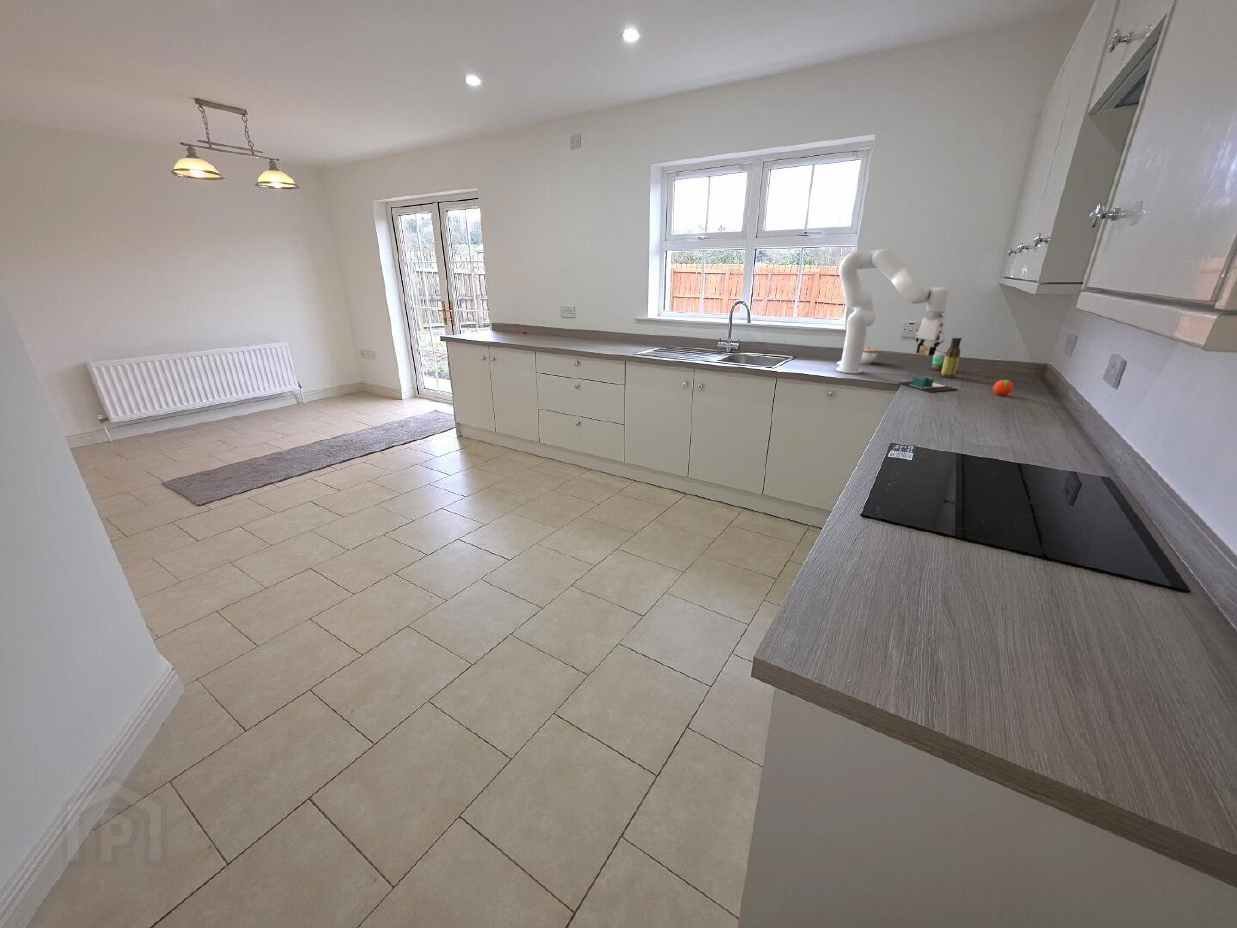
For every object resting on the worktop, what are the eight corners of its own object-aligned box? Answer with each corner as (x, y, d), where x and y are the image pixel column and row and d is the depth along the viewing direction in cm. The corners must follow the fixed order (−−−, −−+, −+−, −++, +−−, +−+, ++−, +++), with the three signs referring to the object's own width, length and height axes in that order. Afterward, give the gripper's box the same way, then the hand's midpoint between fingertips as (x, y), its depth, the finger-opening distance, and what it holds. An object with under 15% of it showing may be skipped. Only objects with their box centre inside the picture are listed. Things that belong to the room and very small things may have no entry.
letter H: (911, 385, 231) (913, 376, 229) (920, 384, 232) (923, 376, 231) (922, 388, 225) (924, 379, 224) (931, 387, 227) (934, 378, 225)
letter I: (918, 354, 236) (920, 345, 234) (920, 353, 236) (922, 345, 235) (928, 356, 231) (930, 347, 229) (931, 355, 231) (933, 347, 230)
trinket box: (867, 365, 275) (871, 348, 271) (851, 361, 283) (854, 345, 280) (879, 363, 279) (883, 347, 276) (863, 360, 288) (866, 344, 284)
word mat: (898, 383, 236) (899, 382, 236) (923, 381, 240) (924, 380, 240) (931, 392, 220) (931, 391, 220) (957, 390, 225) (957, 388, 225)
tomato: (1011, 398, 212) (1016, 382, 209) (992, 396, 215) (997, 380, 212) (1009, 394, 218) (1014, 379, 215) (990, 392, 221) (995, 377, 218)
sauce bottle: (950, 375, 252) (961, 336, 244) (957, 378, 246) (968, 338, 239) (937, 375, 253) (947, 336, 245) (943, 377, 247) (954, 338, 239)
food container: (923, 368, 267) (928, 350, 264) (930, 367, 270) (935, 349, 266) (945, 373, 257) (950, 354, 253) (952, 372, 260) (958, 353, 256)
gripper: (957, 316, 220) (947, 356, 227) (924, 313, 235) (915, 350, 242) (945, 317, 218) (935, 357, 225) (912, 313, 233) (904, 351, 240)
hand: (925, 353), depth 233 cm, fingers closed on letter I, 6 cm apart
